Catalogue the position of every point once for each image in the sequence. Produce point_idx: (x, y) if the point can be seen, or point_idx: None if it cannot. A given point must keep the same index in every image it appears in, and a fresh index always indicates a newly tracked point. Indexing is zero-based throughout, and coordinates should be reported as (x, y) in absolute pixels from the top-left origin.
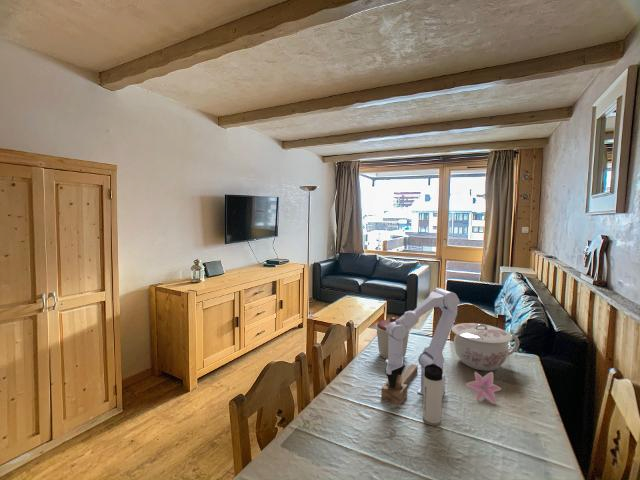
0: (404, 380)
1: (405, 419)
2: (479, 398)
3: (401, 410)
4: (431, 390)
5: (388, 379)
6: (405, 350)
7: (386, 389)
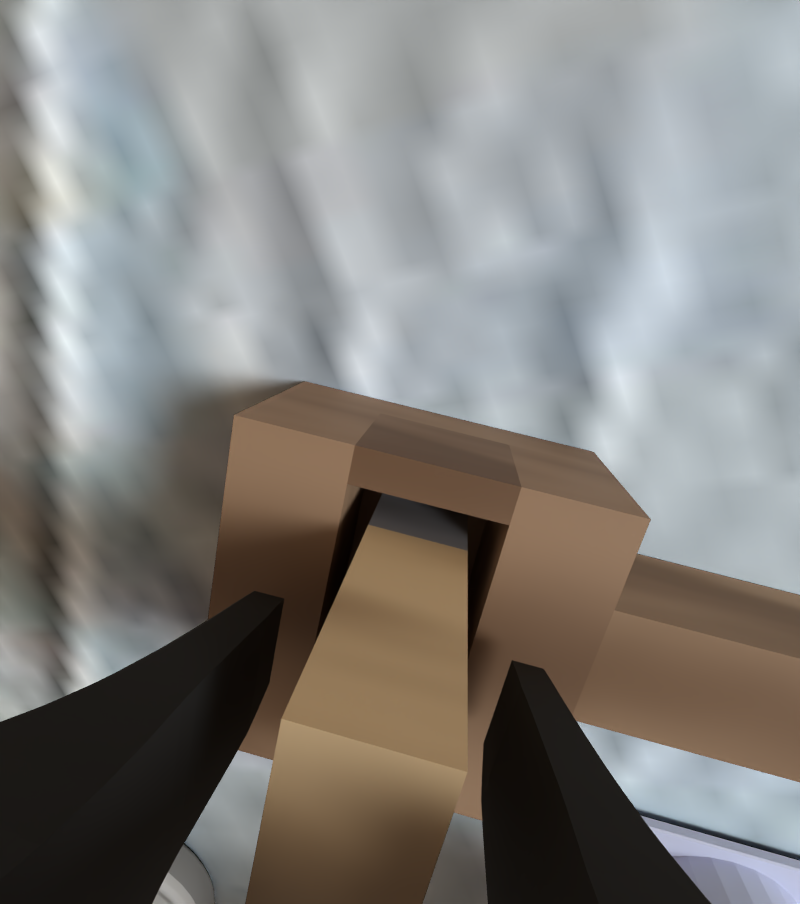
0: (761, 759)
1: (33, 679)
2: None
3: (160, 640)
4: None
5: (125, 675)
6: None
7: (223, 512)
